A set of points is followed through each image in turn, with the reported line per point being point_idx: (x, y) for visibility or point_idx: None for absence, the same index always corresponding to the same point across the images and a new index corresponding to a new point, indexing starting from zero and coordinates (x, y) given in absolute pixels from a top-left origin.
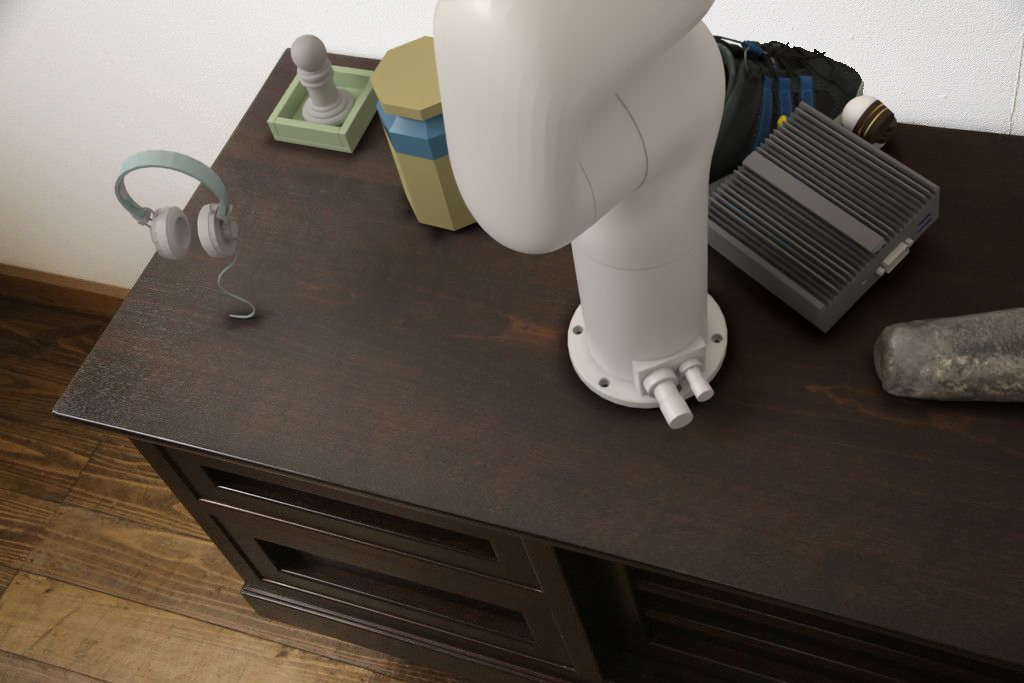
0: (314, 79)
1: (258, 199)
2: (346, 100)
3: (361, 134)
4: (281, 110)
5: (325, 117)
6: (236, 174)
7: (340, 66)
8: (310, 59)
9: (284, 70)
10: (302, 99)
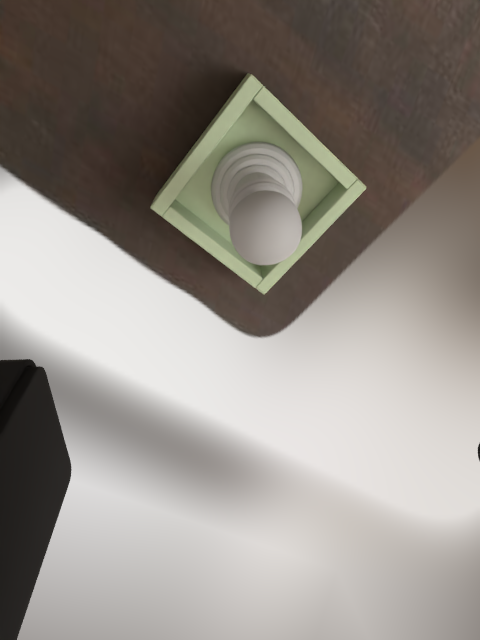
0: (271, 183)
1: (432, 44)
2: (224, 179)
3: (220, 109)
4: (335, 202)
5: (269, 157)
6: (438, 131)
7: (213, 255)
8: (269, 196)
9: (292, 317)
10: None
